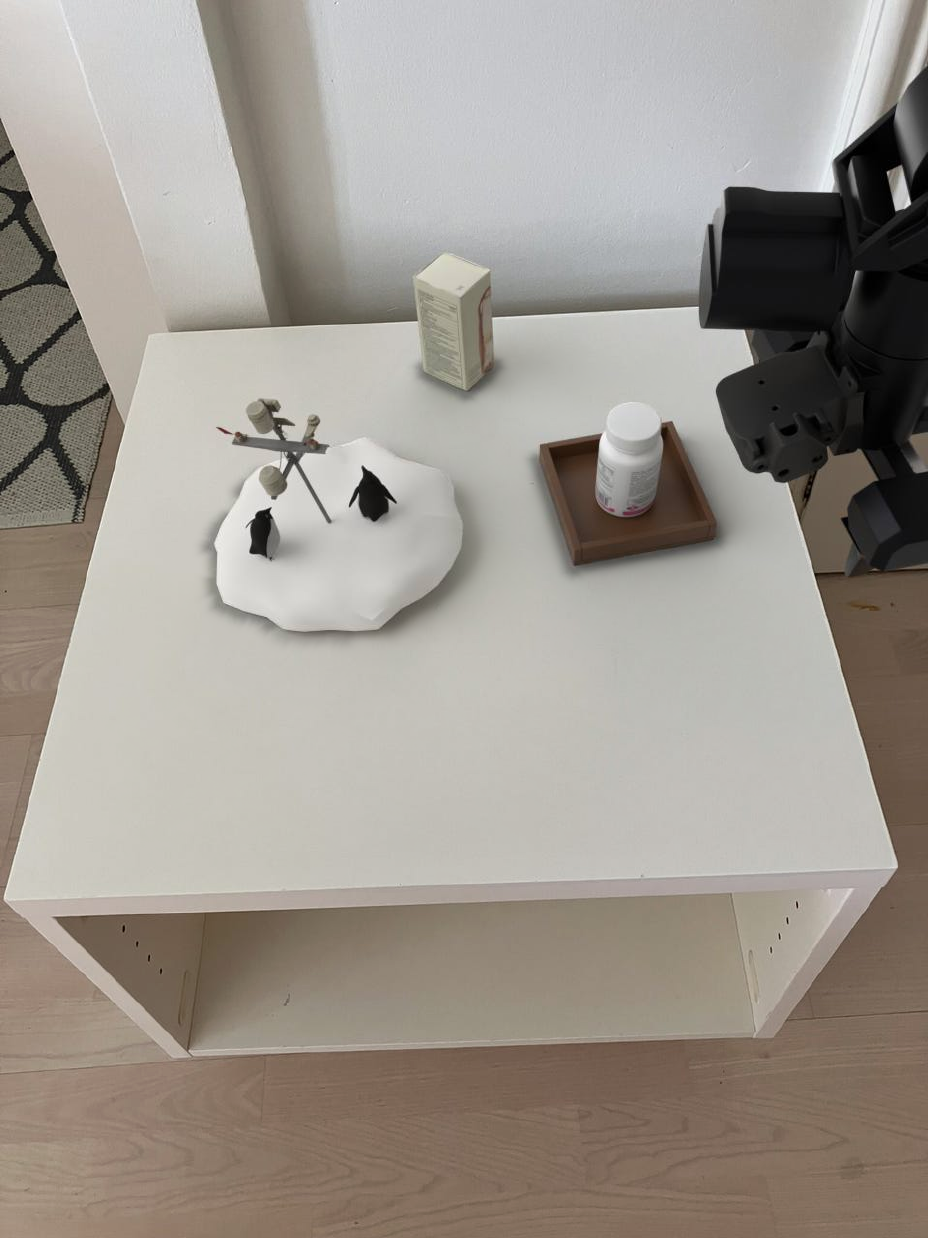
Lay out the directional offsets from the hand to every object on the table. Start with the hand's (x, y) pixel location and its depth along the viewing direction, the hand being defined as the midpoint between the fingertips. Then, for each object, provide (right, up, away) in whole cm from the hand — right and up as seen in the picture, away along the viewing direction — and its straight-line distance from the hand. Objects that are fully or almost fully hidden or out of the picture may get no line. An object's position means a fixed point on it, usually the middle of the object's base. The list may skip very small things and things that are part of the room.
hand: (823, 517), depth 65 cm
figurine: (-33, 0, +16) cm, 37 cm away
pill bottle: (-10, +3, +17) cm, 20 cm away
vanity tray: (-10, +3, +17) cm, 20 cm away
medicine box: (-23, +16, +26) cm, 39 cm away
